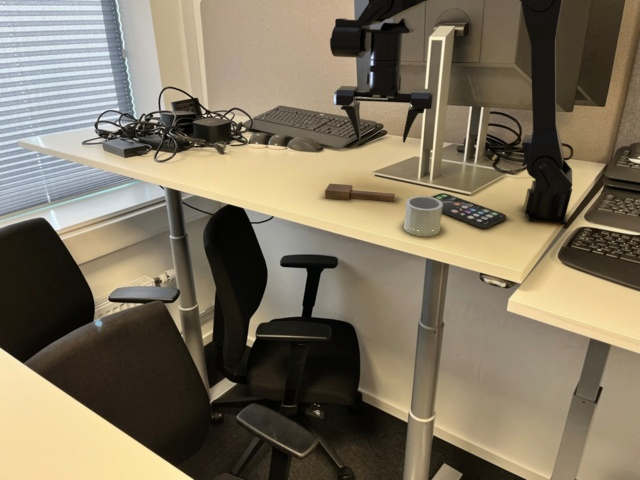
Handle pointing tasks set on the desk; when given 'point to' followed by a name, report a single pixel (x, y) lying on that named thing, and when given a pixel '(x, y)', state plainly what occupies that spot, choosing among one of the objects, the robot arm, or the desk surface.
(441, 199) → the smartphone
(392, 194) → the brown block with handle
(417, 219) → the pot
